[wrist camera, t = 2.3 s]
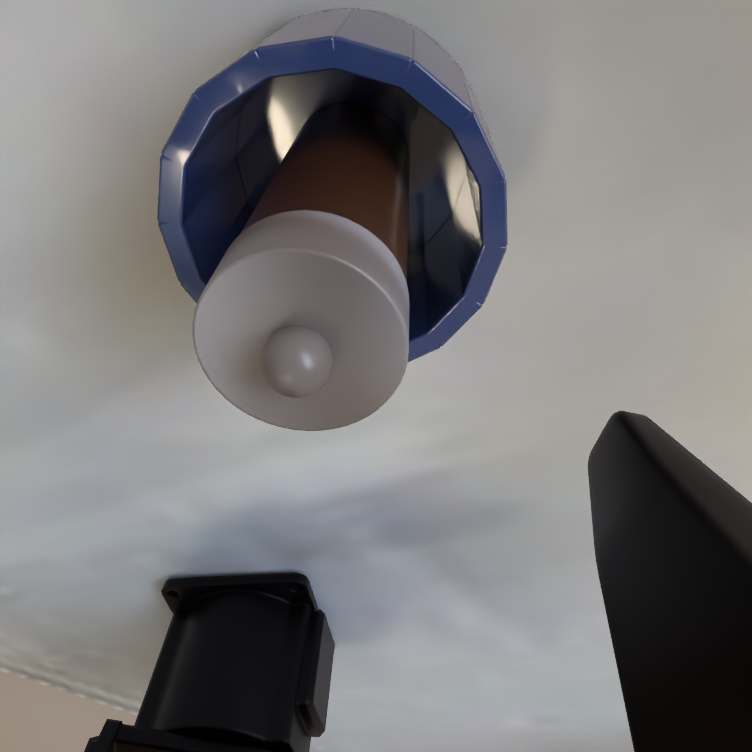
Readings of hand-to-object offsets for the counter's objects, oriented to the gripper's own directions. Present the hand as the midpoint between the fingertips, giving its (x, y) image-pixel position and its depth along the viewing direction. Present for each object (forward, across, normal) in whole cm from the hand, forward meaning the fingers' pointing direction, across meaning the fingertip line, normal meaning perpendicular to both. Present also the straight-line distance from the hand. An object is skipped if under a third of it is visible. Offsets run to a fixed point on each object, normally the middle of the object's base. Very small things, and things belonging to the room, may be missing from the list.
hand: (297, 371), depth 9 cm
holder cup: (+10, 0, 0) cm, 10 cm away
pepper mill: (+9, 0, 0) cm, 9 cm away
